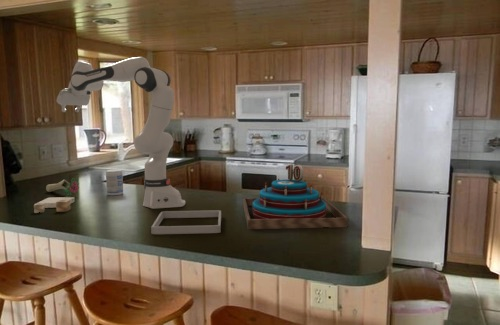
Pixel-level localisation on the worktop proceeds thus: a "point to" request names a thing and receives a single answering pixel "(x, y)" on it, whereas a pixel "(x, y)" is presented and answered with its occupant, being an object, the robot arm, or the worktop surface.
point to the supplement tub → (114, 182)
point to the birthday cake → (289, 199)
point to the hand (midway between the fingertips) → (70, 111)
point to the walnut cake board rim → (296, 219)
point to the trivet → (52, 201)
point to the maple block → (39, 207)
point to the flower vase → (64, 186)
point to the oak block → (63, 205)
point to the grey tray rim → (186, 229)
